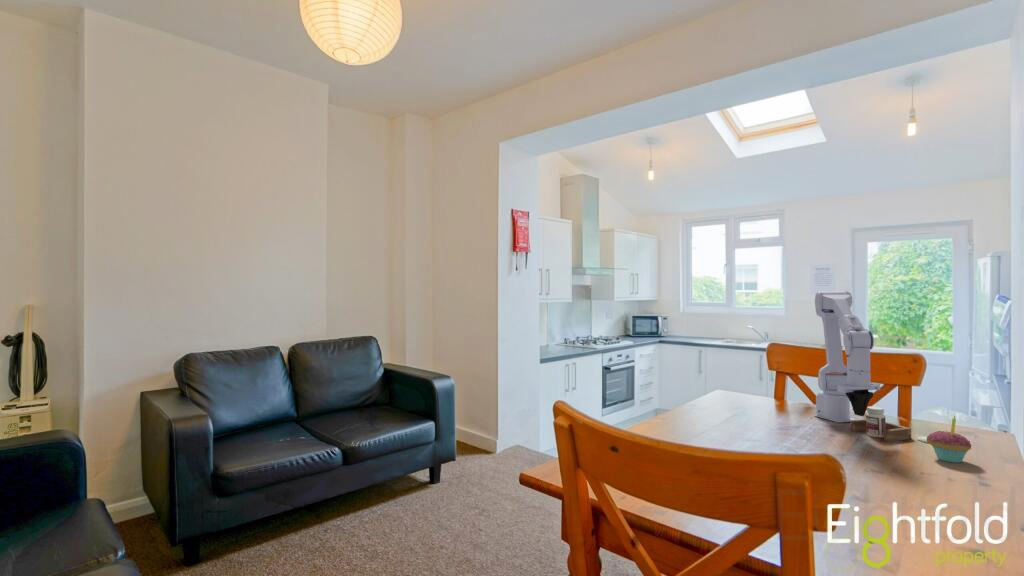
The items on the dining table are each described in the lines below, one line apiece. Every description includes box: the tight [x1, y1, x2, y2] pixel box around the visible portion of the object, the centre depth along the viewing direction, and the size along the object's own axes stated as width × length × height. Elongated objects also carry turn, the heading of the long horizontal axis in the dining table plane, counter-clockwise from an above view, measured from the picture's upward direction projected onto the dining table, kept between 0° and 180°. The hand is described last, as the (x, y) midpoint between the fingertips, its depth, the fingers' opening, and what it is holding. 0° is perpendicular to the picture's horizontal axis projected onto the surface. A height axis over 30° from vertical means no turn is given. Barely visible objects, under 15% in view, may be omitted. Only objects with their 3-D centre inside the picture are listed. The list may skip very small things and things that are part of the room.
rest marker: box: [916, 436, 929, 444], centre depth 138 cm, size 6×6×1 cm
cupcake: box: [926, 415, 972, 464], centre depth 123 cm, size 9×8×12 cm
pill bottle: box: [865, 405, 887, 438], centre depth 144 cm, size 5×5×8 cm
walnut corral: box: [850, 418, 912, 443], centre depth 144 cm, size 11×9×3 cm
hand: (859, 415), depth 142 cm, fingers closed
